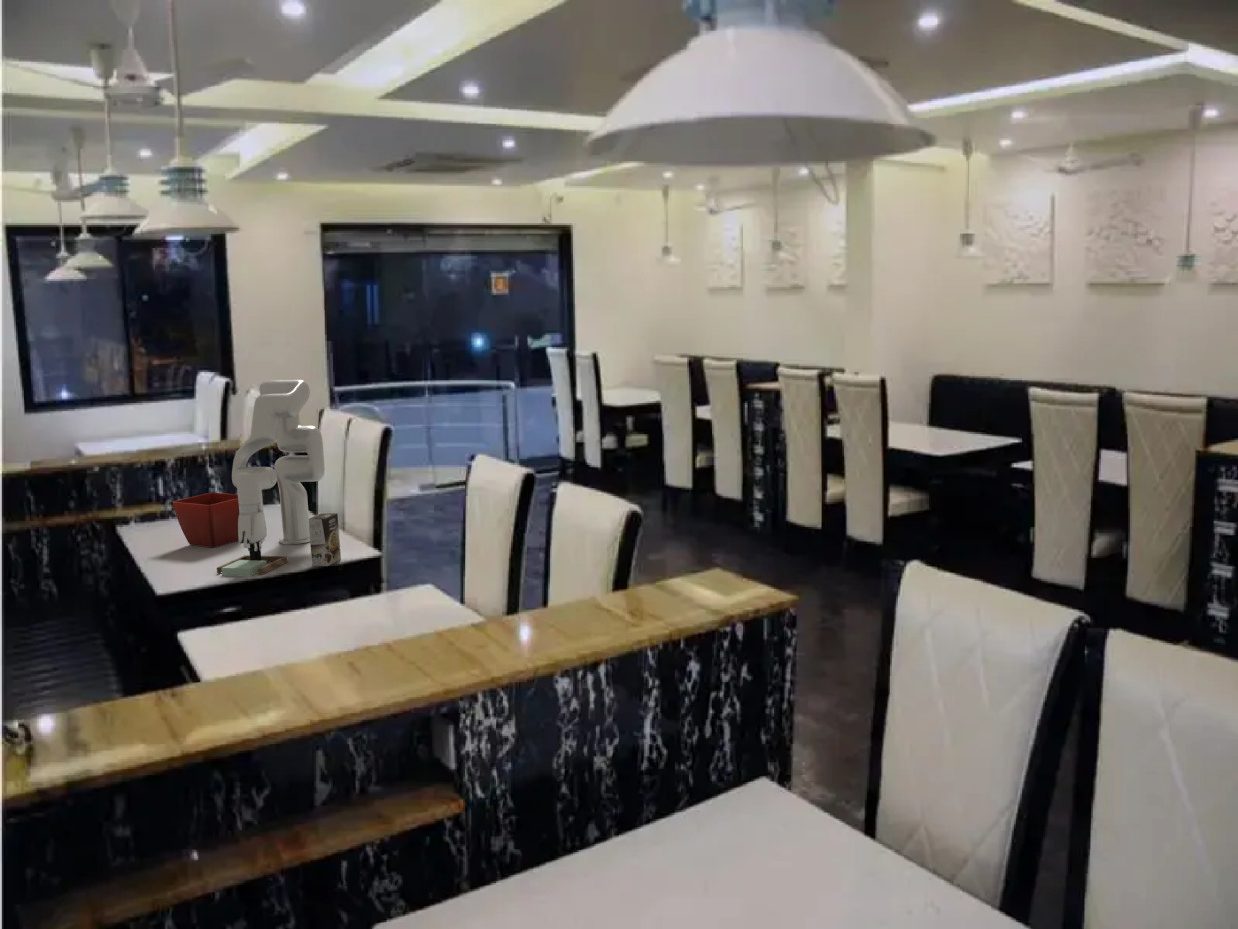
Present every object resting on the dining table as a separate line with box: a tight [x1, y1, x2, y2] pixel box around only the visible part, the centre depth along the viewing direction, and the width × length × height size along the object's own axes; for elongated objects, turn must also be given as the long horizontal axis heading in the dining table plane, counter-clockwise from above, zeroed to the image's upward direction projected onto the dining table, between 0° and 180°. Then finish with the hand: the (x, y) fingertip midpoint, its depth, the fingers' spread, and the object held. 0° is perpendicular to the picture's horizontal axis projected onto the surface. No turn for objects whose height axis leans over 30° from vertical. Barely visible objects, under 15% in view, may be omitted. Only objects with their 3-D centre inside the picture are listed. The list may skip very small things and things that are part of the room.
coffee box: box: [309, 512, 342, 567], centre depth 336 cm, size 9×6×16 cm
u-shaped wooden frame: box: [216, 554, 288, 576], centre depth 333 cm, size 16×16×2 cm
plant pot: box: [172, 492, 239, 548], centre depth 369 cm, size 19×19×17 cm
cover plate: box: [221, 560, 268, 577], centre depth 329 cm, size 10×10×3 cm
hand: (256, 561), depth 335 cm, fingers closed
